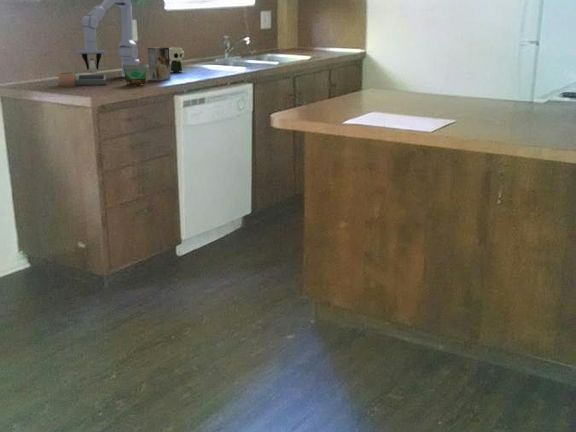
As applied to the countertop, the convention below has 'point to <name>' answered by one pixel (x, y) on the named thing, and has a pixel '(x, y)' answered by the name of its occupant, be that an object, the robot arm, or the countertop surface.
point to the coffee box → (159, 63)
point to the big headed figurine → (176, 58)
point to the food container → (135, 74)
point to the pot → (67, 79)
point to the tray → (91, 80)
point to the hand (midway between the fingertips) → (92, 69)
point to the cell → (92, 66)
